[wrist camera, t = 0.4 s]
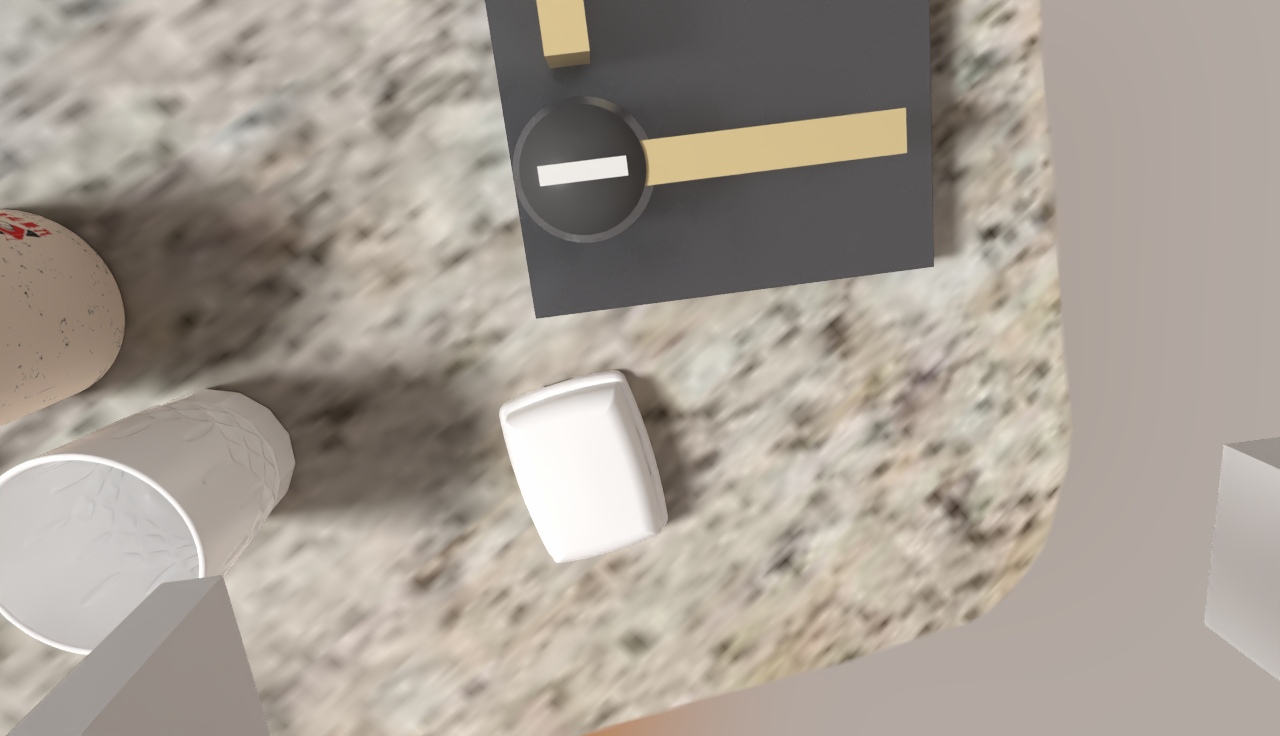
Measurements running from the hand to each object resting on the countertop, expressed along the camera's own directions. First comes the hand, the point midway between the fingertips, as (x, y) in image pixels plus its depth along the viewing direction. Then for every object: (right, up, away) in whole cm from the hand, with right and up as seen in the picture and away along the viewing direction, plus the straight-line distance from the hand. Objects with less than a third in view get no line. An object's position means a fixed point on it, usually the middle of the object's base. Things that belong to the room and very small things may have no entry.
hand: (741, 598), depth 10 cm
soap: (-4, -2, +28) cm, 28 cm away
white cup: (-21, -1, +26) cm, 34 cm away
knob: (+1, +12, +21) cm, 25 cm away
